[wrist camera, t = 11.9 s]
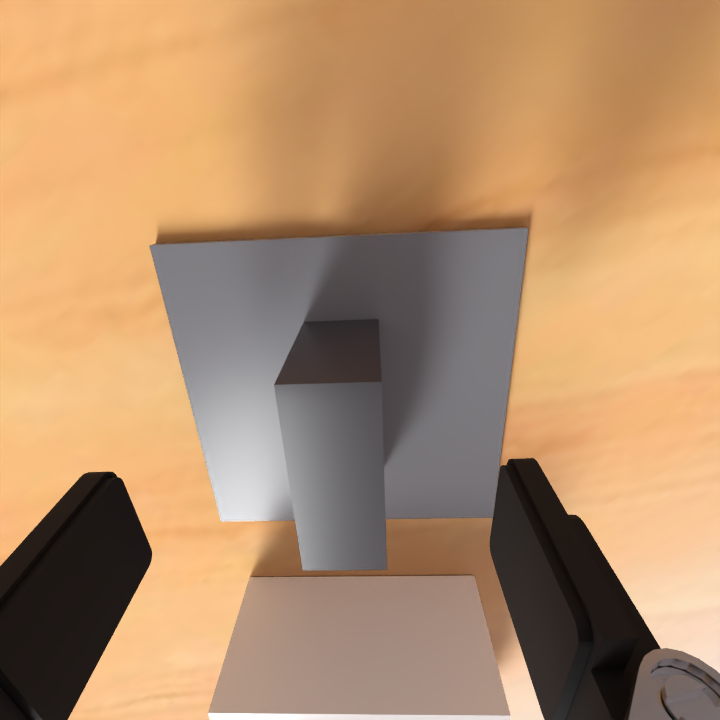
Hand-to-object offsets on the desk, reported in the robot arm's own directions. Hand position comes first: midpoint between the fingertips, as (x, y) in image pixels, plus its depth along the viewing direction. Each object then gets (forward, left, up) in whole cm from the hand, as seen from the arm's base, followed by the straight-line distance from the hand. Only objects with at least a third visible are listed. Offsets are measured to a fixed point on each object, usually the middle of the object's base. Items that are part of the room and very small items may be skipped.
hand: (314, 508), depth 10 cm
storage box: (+18, 0, -7) cm, 19 cm away
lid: (+1, 0, -8) cm, 8 cm away
